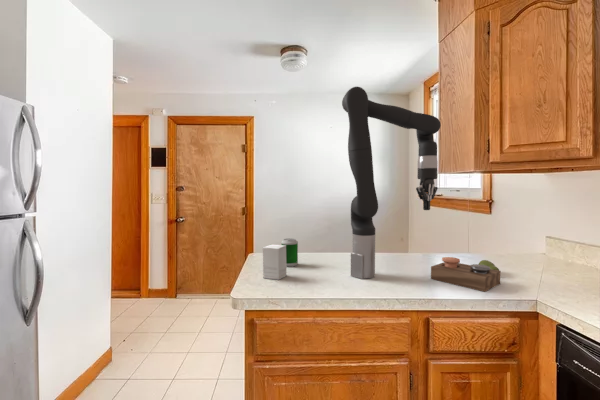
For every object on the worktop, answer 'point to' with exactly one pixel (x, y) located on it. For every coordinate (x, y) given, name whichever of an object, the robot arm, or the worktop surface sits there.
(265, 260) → the supplement box
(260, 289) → the worktop surface
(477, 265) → the grey knob
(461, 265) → the brown wooden block
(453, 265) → the tan round knob
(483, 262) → the pear
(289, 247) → the soda can
